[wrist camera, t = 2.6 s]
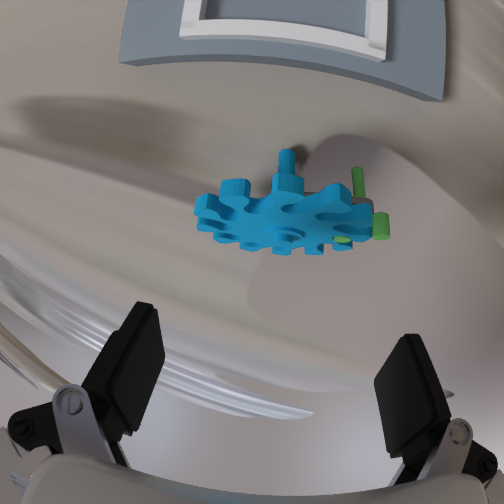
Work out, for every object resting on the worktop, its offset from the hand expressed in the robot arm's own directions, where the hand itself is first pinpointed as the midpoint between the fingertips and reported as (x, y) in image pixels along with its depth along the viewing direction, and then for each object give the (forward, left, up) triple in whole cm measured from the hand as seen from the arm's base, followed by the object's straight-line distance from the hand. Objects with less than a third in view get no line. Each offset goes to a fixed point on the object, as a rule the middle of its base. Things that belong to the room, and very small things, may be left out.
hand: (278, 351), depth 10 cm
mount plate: (+2, -20, -11) cm, 23 cm away
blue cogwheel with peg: (-1, 0, -13) cm, 13 cm away
